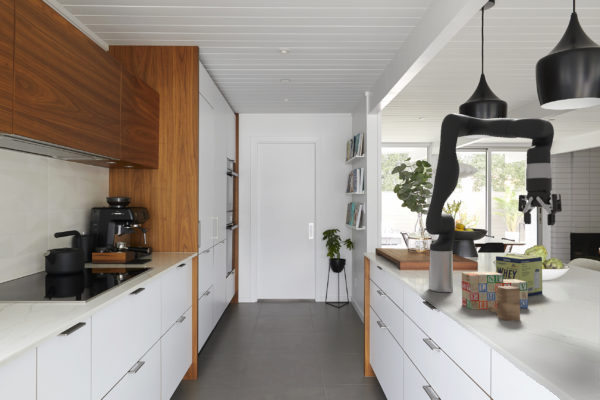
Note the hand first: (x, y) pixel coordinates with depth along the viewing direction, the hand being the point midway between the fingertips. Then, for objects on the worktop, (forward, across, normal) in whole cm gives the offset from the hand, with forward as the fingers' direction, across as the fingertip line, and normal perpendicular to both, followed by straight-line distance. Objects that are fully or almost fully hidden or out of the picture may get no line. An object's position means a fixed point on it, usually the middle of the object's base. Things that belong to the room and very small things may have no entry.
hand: (539, 224), depth 131 cm
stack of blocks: (+30, -11, -8) cm, 33 cm away
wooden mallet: (+30, -1, -16) cm, 34 cm away
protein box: (+30, -24, +18) cm, 42 cm away
